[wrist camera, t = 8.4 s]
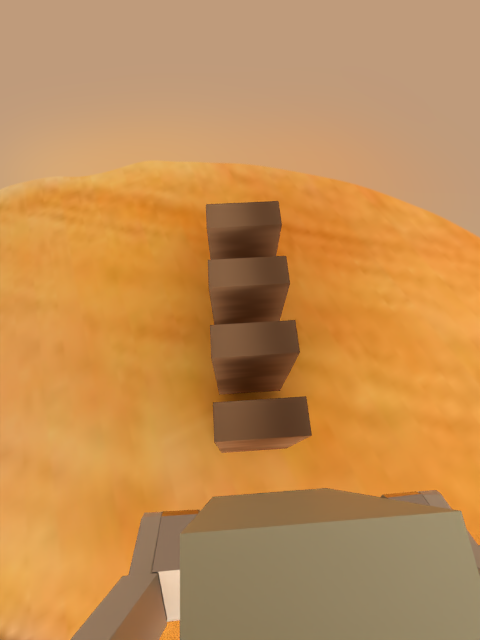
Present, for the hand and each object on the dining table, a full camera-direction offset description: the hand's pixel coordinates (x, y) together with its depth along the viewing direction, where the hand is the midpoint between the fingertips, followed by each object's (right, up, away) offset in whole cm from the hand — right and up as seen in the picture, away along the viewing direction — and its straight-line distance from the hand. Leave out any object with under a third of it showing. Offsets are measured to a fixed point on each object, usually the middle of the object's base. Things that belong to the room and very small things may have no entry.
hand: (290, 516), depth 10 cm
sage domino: (0, -3, +5) cm, 6 cm away
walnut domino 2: (-1, +5, +21) cm, 22 cm away
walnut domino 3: (-1, 0, +19) cm, 19 cm away
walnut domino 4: (0, -4, +18) cm, 18 cm away
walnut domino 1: (-1, +9, +23) cm, 25 cm away
